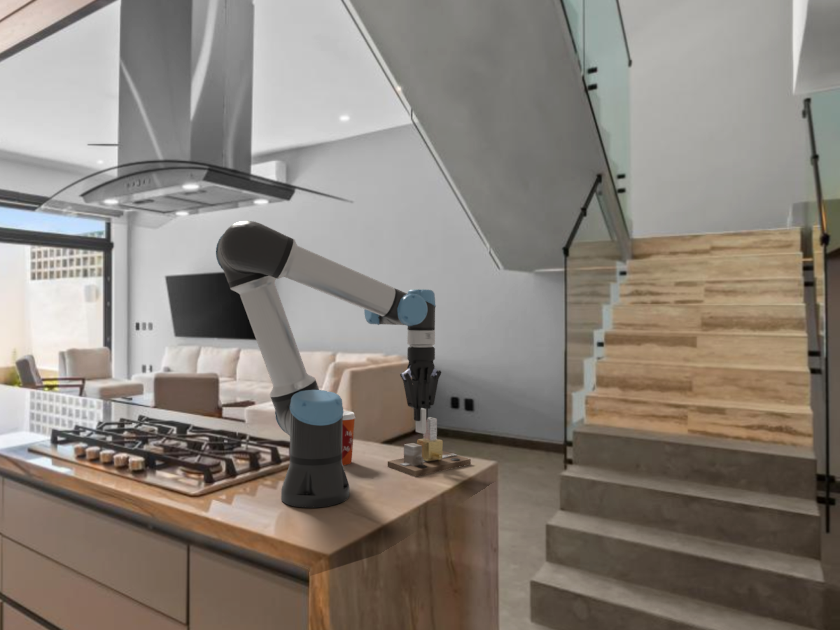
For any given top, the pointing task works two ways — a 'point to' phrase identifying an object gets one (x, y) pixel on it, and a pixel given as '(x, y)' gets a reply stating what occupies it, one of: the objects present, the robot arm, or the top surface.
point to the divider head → (431, 442)
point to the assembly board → (418, 466)
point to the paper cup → (347, 436)
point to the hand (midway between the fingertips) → (420, 432)
